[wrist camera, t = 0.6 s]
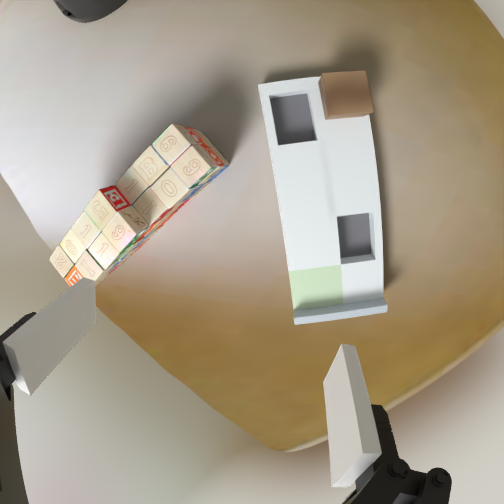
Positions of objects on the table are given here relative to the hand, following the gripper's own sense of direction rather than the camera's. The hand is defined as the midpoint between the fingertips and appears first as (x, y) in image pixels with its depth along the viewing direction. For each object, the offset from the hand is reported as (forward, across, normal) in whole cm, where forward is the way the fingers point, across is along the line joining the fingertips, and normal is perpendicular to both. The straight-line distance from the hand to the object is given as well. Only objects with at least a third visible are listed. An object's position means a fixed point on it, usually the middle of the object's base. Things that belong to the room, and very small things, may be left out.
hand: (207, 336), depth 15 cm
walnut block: (+23, +6, +17) cm, 29 cm away
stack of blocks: (+26, -14, 0) cm, 29 cm away
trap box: (+25, +8, +5) cm, 27 cm away
